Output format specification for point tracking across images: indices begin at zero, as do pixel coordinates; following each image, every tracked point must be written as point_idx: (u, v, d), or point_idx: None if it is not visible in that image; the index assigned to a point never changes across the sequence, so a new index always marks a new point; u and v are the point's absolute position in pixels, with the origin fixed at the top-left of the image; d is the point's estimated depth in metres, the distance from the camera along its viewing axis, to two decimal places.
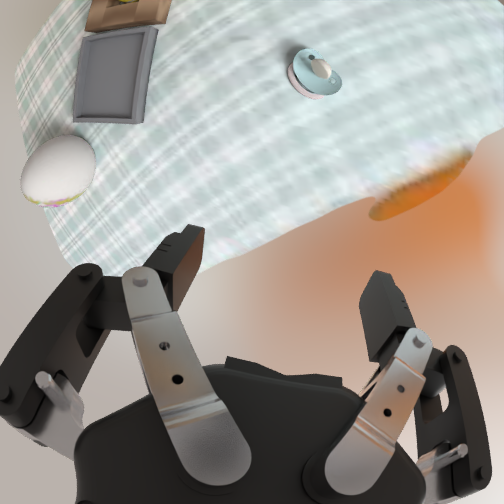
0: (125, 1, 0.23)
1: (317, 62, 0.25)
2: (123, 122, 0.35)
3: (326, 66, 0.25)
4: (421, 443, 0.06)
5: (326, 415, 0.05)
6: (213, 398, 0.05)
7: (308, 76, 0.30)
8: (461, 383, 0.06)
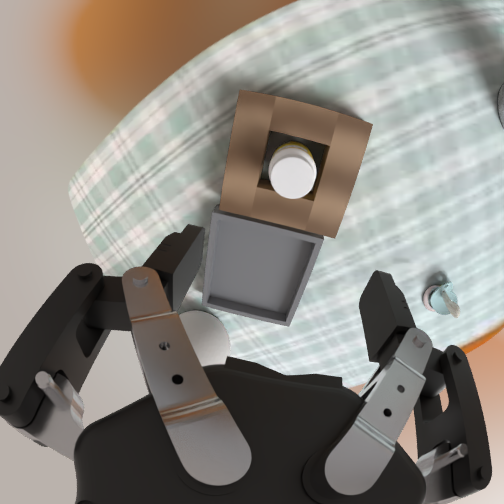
0: None
1: (454, 312, 0.31)
2: (275, 322, 0.41)
3: (458, 315, 0.31)
4: (421, 443, 0.06)
5: (326, 415, 0.05)
6: (213, 398, 0.05)
7: (437, 299, 0.36)
8: (461, 383, 0.06)
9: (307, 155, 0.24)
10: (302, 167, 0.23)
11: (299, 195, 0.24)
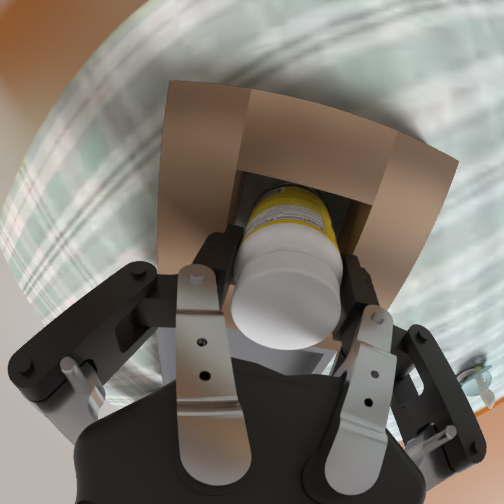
0: None
1: (488, 404, 0.18)
2: None
3: (492, 406, 0.17)
4: (403, 427, 0.07)
5: (326, 415, 0.05)
6: (233, 401, 0.05)
7: (469, 382, 0.22)
8: (433, 364, 0.07)
9: (325, 244, 0.10)
10: (312, 294, 0.09)
11: (300, 345, 0.10)
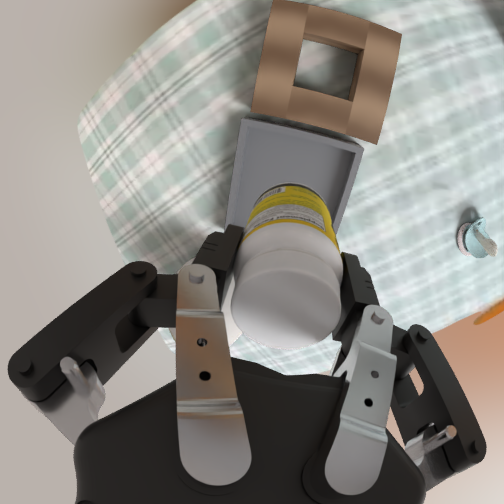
0: None
1: (492, 247, 0.26)
2: None
3: (496, 252, 0.26)
4: (403, 427, 0.07)
5: (326, 415, 0.05)
6: (233, 401, 0.05)
7: (471, 239, 0.31)
8: (433, 364, 0.07)
9: (325, 243, 0.10)
10: (312, 293, 0.09)
11: (300, 345, 0.10)
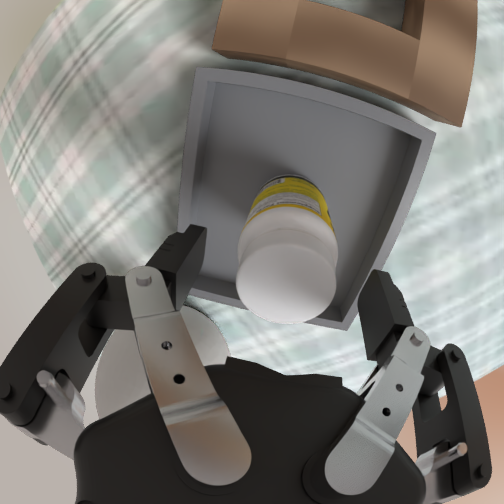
0: None
1: None
2: (321, 324, 0.20)
3: None
4: (420, 442, 0.06)
5: (326, 415, 0.05)
6: (214, 398, 0.05)
7: None
8: (459, 382, 0.06)
9: (321, 225, 0.11)
10: (309, 267, 0.10)
11: (300, 319, 0.11)
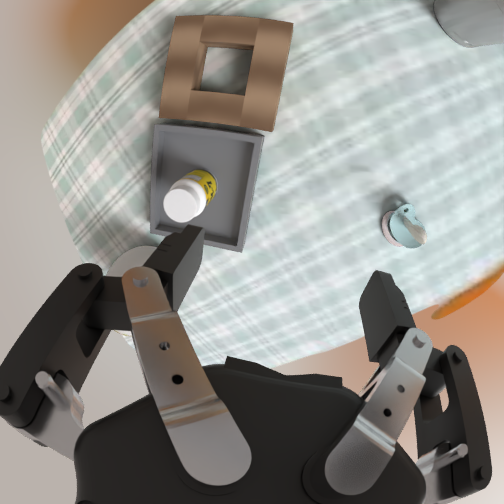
0: None
1: (418, 234, 0.30)
2: (226, 248, 0.38)
3: (425, 239, 0.30)
4: (421, 443, 0.06)
5: (326, 415, 0.05)
6: (213, 398, 0.05)
7: (399, 228, 0.35)
8: (461, 383, 0.06)
9: (195, 184, 0.29)
10: (185, 196, 0.28)
11: (187, 219, 0.29)
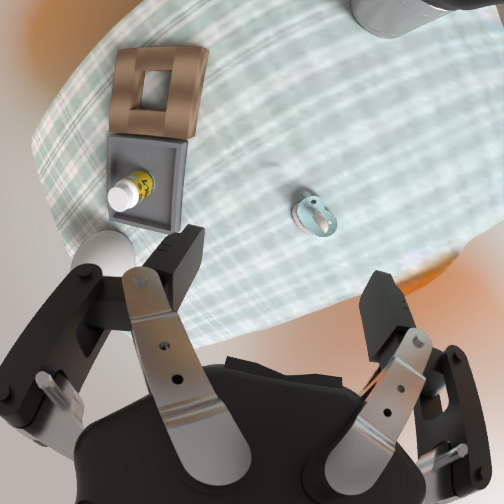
0: None
1: (317, 223, 0.37)
2: (163, 232, 0.45)
3: (324, 228, 0.37)
4: (421, 443, 0.06)
5: (326, 415, 0.05)
6: (213, 398, 0.05)
7: (309, 218, 0.42)
8: (461, 383, 0.06)
9: (130, 183, 0.36)
10: (120, 192, 0.35)
11: (123, 209, 0.36)
